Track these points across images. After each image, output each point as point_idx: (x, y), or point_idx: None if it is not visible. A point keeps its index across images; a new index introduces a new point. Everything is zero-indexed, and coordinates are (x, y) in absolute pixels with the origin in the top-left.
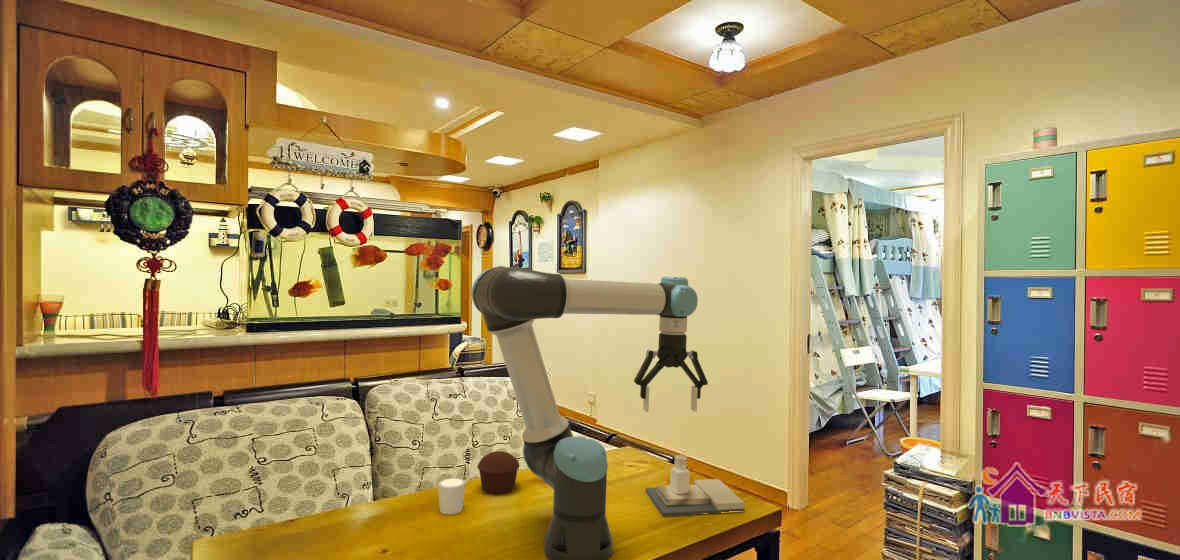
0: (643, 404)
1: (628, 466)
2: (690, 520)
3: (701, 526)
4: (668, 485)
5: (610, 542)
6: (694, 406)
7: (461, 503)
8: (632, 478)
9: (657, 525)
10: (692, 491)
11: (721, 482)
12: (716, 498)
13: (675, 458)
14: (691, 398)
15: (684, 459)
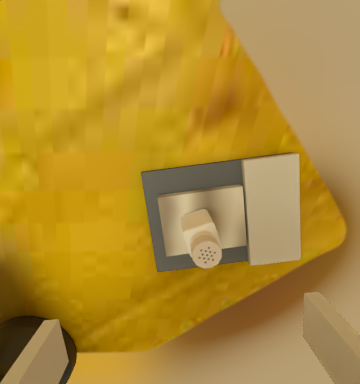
0: (29, 343)
1: (119, 19)
2: (197, 278)
3: (209, 294)
4: (183, 194)
5: (67, 378)
6: (319, 359)
7: None
8: (122, 101)
9: (144, 293)
10: (223, 219)
11: (297, 172)
12: (258, 245)
13: (192, 258)
14: (344, 346)
15: (213, 266)
